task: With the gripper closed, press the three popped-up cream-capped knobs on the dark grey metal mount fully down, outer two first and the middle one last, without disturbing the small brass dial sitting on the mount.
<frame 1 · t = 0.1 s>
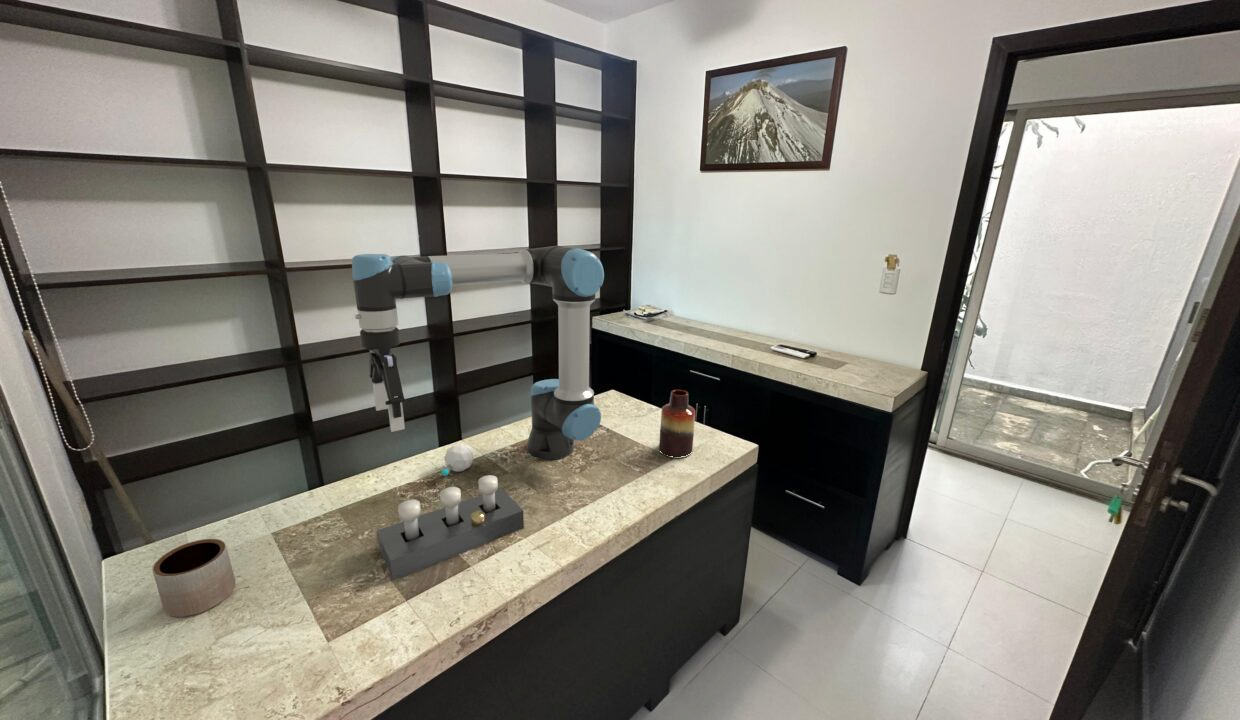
hand: (389, 419, 111), 28 cm above the worktop, fingers open, 13 cm apart
knob mid: (451, 507, 112), point 8 cm above the worktop, slide at 0.0 cm
brass dial: (478, 521, 113), point 5 cm above the worktop, touching mount
knob 1: (410, 521, 107), point 8 cm above the worktop, slide at 0.0 cm
mount: (454, 538, 115), on the worktop
vase: (675, 451, 160), on the worktop
planter: (201, 598, 96), on the worktop
perfume bottle: (456, 472, 143), on the worktop
knob 2: (488, 494, 117), point 8 cm above the worktop, slide at 0.0 cm
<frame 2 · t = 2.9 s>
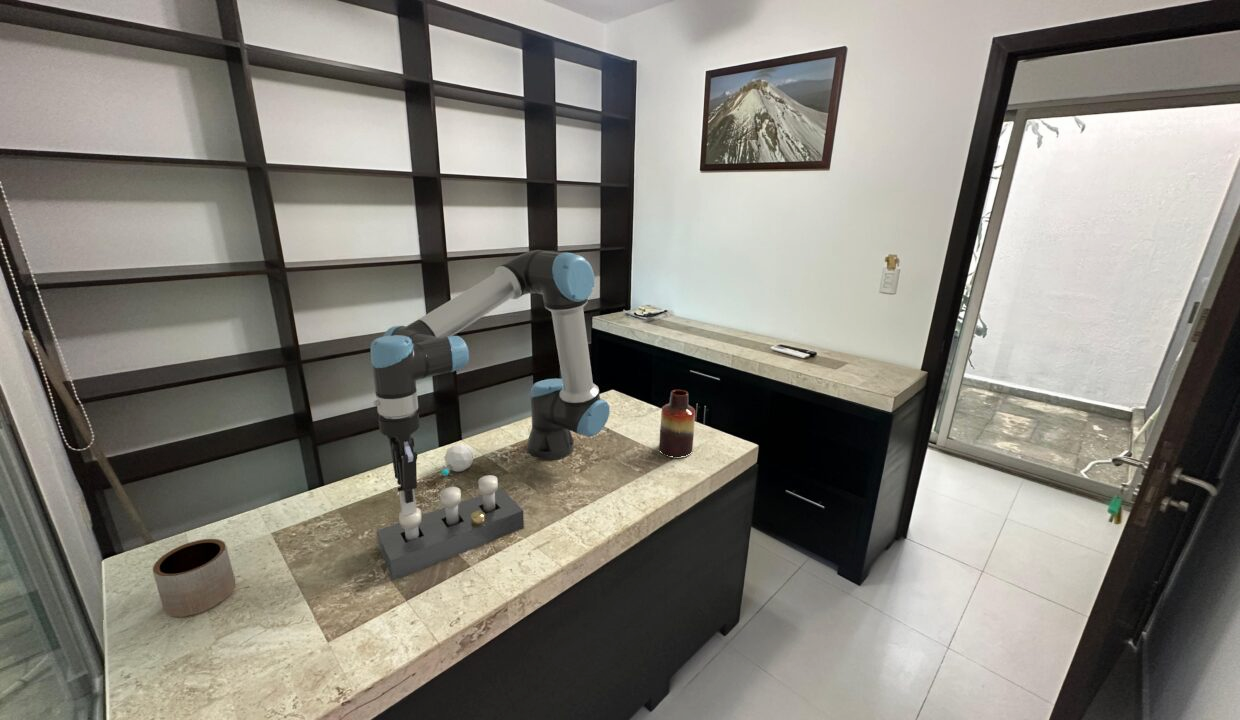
hand: (409, 512, 106), 11 cm above the worktop, fingers closed
knob 1: (411, 528, 107), point 7 cm above the worktop, slide at 1.9 cm, touching gripper
everything else where it was.
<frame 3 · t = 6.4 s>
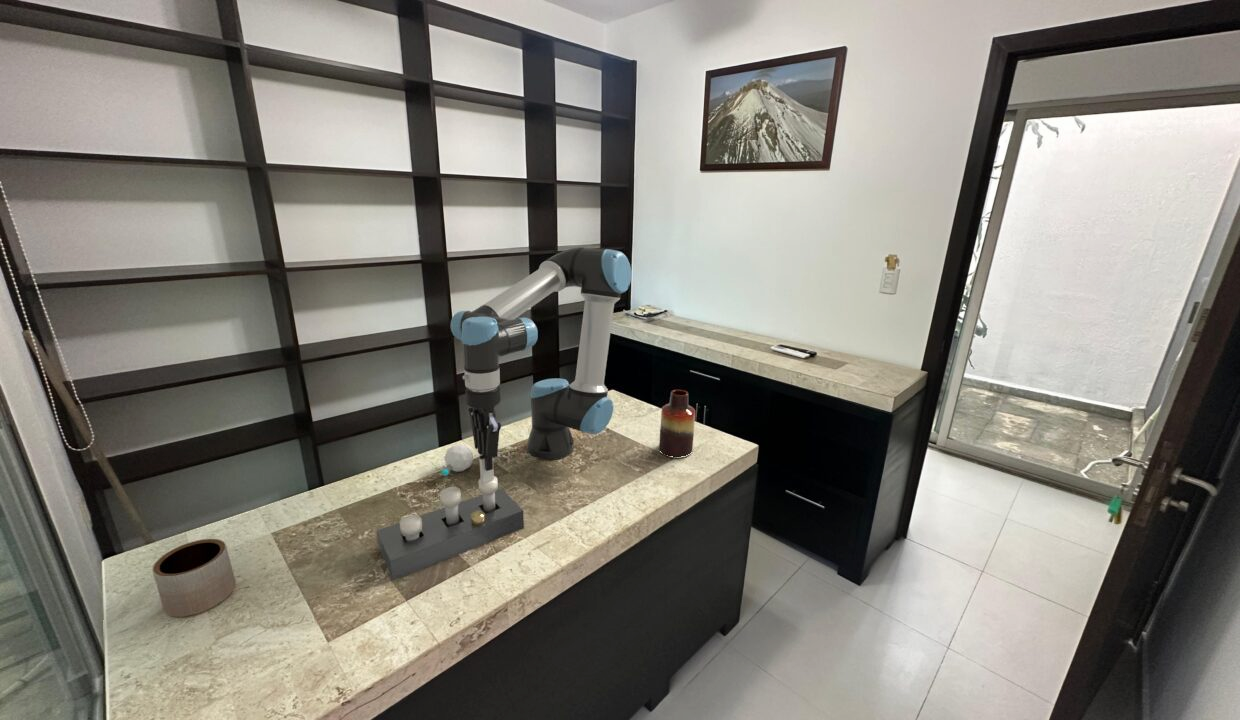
hand: (487, 479, 116), 13 cm above the worktop, fingers closed
knob 1: (412, 536, 108), point 5 cm above the worktop, slide at 3.9 cm
knob 2: (488, 494, 117), point 8 cm above the worktop, slide at 0.0 cm, touching gripper
everything else where it was.
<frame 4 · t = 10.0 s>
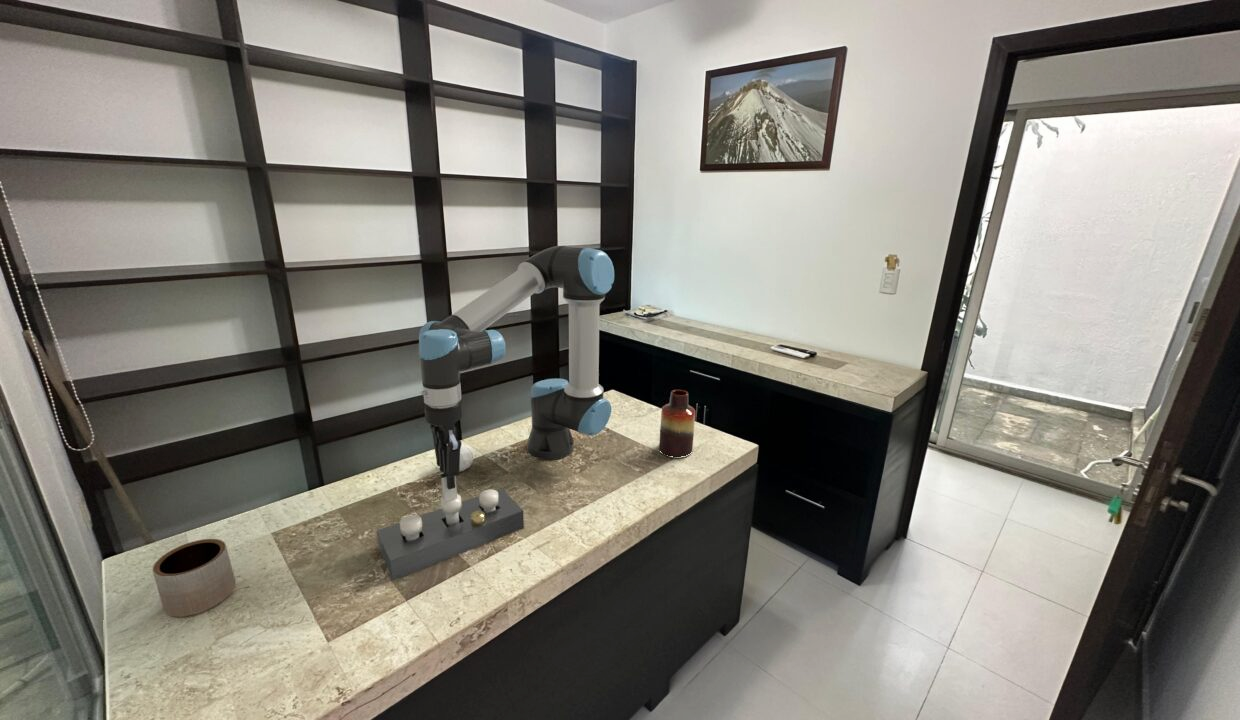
hand: (450, 498, 111), 11 cm above the worktop, fingers closed
knob mid: (452, 513, 113), point 7 cm above the worktop, slide at 1.8 cm, touching gripper
knob 2: (489, 508, 119), point 5 cm above the worktop, slide at 3.9 cm
everything else where it was.
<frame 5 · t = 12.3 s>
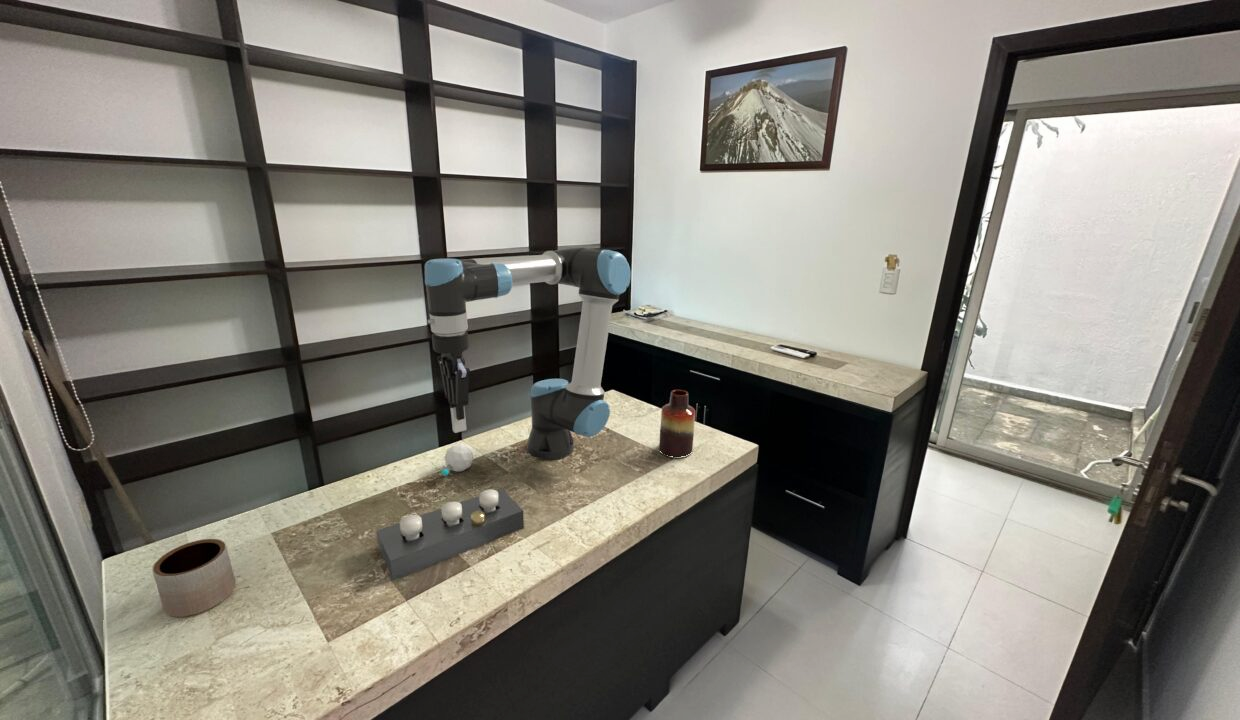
hand: (459, 430, 113), 25 cm above the worktop, fingers closed
knob mid: (452, 521, 113), point 5 cm above the worktop, slide at 3.9 cm
everything else where it was.
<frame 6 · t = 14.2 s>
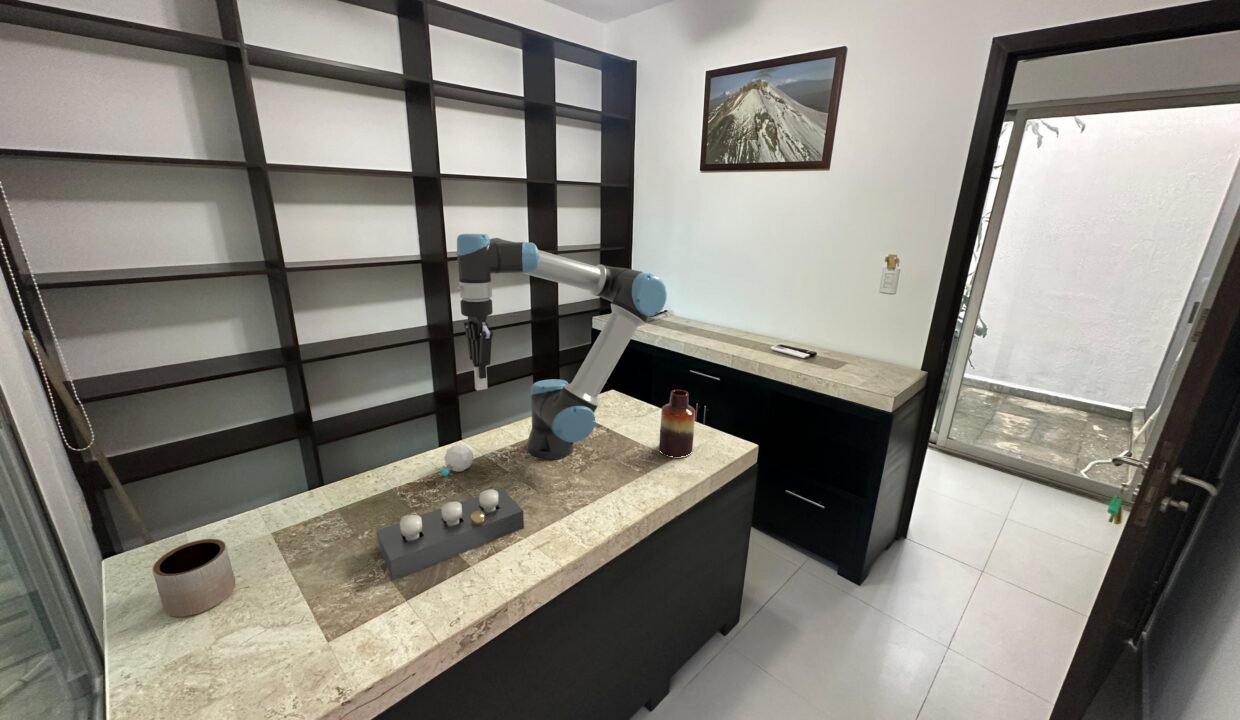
hand: (481, 388, 127), 29 cm above the worktop, fingers closed
nothing on the worktop moved.
at the end: knob 1 slide at 3.9 cm; knob 2 slide at 3.9 cm; knob mid slide at 3.9 cm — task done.
